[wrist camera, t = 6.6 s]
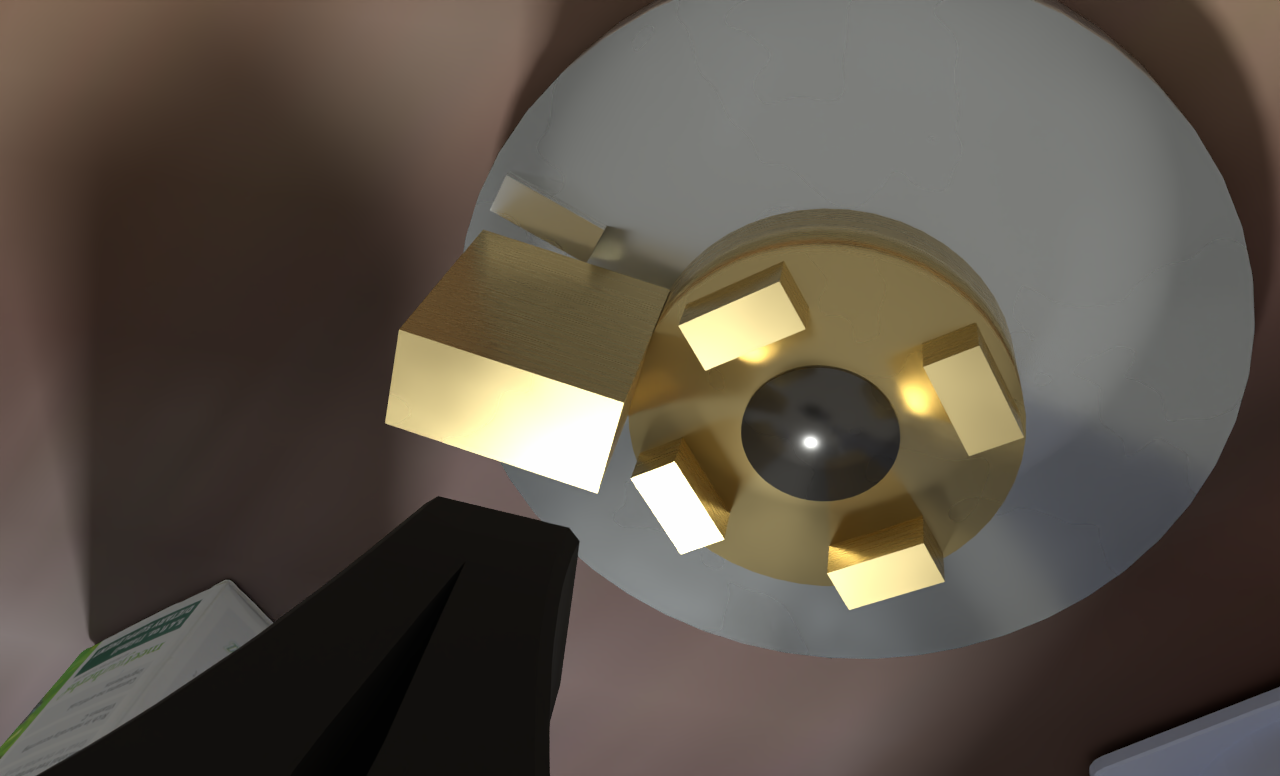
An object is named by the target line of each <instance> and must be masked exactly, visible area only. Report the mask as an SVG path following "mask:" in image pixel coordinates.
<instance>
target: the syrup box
mask: <svg viewBox="0 0 1280 776" xmlns="http://www.w3.org/2000/svg"><path fill="white" fill-rule="evenodd" d="M271 624H273V622H272V621H271V620H270V619H269V618H268V617H267V616H266V615H265V614H264V613H263V612H262V611H261V610H260V609H259V608H258V607H257V605H256V604H255V603H254V602H252V601H251V600H250V599H249V598H248V597H247V596H246V595H245V594H244V593H243V592H242V591H241V590H240V589H239V588H238V587H237V586H236V584H235V583H234V582H232V581H231V580H224V581H222V582H220V583H218V584H216V585H214V586H213V587H212V588H210V589H208V590H206V591H203V592H201V593H199V594H197V595H194V596H192V597H190V598H188V599H186V600H184V601H182V602H180V603H177V604H174V605H172V606H170V607H168V608H166V609H164V610H162V611H160V612H158V613H156V614H154V615H152V616H150V617H148V618H146V619H144V620H142V621H140V622H138V623H136V624H134V625H132V626H130V627H128V628H126V629H125V630H123V631H121V632H119V633H117V634H115V635H113V636H111V637H109V638H107V639H105V640H103V641H102V642H100V643H98V644H96V645H94V646H93V647H90V648H88V649H86V650H84V651H83V652H82V653H81V654H80V655H79V656H78V657H77V658H76V660H75V661H74V662H73V663H72V664H71V666H70V667H69V668H68V669H67V670H66V672H65V673H64V674H63V675H62V676H61V677H60V679H59V680H58V681H57V682H56V683H55V684H54V686H53V687H52V688H51V689H50V690H49V691H48V692H47V694H46V695H45V696H44V697H43V698H42V699H41V701H40V702H39V703H38V704H37V705H36V707H35V708H34V709H33V710H32V711H31V713H30V714H29V715H28V716H27V717H26V718H25V719H24V721H23V722H22V723H21V724H20V725H19V726H18V728H17V729H16V730H15V731H14V732H13V733H12V734H11V736H10V737H9V738H8V739H7V740H6V742H5V743H4V744H3V745H2V746H1V747H0V776H36V775H38V774H40V773H41V772H43V771H45V770H47V769H48V768H50V767H52V766H54V765H55V764H57V763H59V762H61V761H62V760H64V759H66V758H68V757H69V756H71V755H73V754H75V753H76V752H78V751H80V750H82V749H83V748H85V747H87V746H88V745H90V744H92V743H93V742H95V741H97V740H98V739H100V738H102V737H103V736H105V735H107V734H108V733H110V732H112V731H113V730H115V729H116V728H118V727H120V726H121V725H123V724H124V723H126V722H128V721H129V720H131V719H132V718H134V717H136V716H137V715H139V714H141V713H142V712H144V711H145V710H147V709H148V708H150V707H152V706H153V705H155V704H156V703H158V702H159V701H161V700H162V699H164V698H165V697H167V696H168V695H170V694H171V693H173V692H174V691H176V690H177V689H179V688H180V687H182V686H183V685H185V684H186V683H188V682H189V681H191V680H192V679H194V678H195V677H197V676H198V675H200V674H201V673H203V672H204V671H205V670H207V669H208V668H210V667H211V666H213V665H214V664H216V663H217V662H219V661H220V660H222V659H223V658H225V657H226V656H228V655H229V654H231V653H232V652H234V651H235V650H237V649H238V648H240V647H241V646H242V645H244V644H245V643H247V642H248V641H249V640H251V639H252V638H254V637H255V636H256V635H258V634H259V633H261V632H262V631H263V630H265V629H266V628H267V627H269V626H270V625H271Z"/></svg>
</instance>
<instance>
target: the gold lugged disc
mask: <svg viewBox="0 0 1280 776" xmlns="http://www.w3.org/2000/svg"><path fill="white" fill-rule="evenodd" d="M628 416H629V431H630V437H631V442H632V447H633V451H634V454H635V457H636V460H637V462H636V465H635V468H634V471H633V473H632V476H631V480H632V481H633V483H634V484H635V486H636V487H637V489H638V490H639V492H640V493H641V495H642V496H643V498H644V499H645V501H646V502H647V504H648V505H649V507H650V508H651V510H652V511H653V513H654V514H655V516H656V517H657V519H658V520H659V522H660V524H661V525H662V527H663V528H664V530H665V531H666V533H667V534H668V536H669V537H670V539H671V540H672V542H673V543H674V545H675V546H676V548H677V549H678V551H679V552H680V554H683V553H686V552H689V551H692V550H695V549H698V548H701V547H704V546H705V547H706V548H708V549H709V550H710V551H712V552H714V553H715V554H717V555H719V556H721V557H723V558H724V559H726V560H728V561H730V562H731V563H734V564H736V565H738V566H741V567H743V568H745V569H748V570H750V571H752V572H755V573H758V574H762V575H765V576H768V577H771V578H774V579H779V580H784V581H788V582H793V583H798V584H807V585H817V586H835V587H836V589H837V591H838V592H839V594H840V596H841V597H842V599H843V601H844V602H845V604H846V606H847V607H848V609H849V610H851V609H854V608H858V607H861V606H865V605H868V604H871V603H875V602H878V601H882V600H885V599H888V598H892V597H895V596H898V595H902V594H905V593H909V592H912V591H915V590H919V589H922V588H926V587H929V586H932V585H936V584H939V583H942V582H945V576H944V560H943V558H945V557H947V556H948V555H950V554H952V553H953V552H955V551H957V550H958V549H959V548H961V547H962V546H963V545H964V544H966V543H967V542H968V541H969V540H971V539H972V538H973V537H974V536H976V535H977V534H978V533H979V532H980V530H981V529H982V528H983V527H984V526H985V525H986V524H987V523H988V522H989V521H990V520H991V519H992V518H993V516H994V515H995V514H996V512H997V511H998V509H999V508H1000V507H1001V505H1002V504H1003V503H1004V501H1005V499H1006V497H1007V495H1008V494H1009V492H1010V490H1011V488H1012V486H1013V484H1014V482H1015V479H1016V477H1017V474H1018V471H1019V468H1020V465H1021V462H1022V457H1023V452H1024V446H1025V440H1026V413H1025V406H1024V400H1023V393H1022V388H1021V383H1020V378H1019V373H1018V368H1017V363H1016V358H1015V353H1014V348H1013V343H1012V338H1011V335H1010V332H1009V329H1008V326H1007V323H1006V320H1005V317H1004V315H1003V313H1002V311H1001V309H1000V307H999V305H998V303H997V301H996V299H995V297H994V295H993V294H992V293H991V291H990V290H989V288H988V287H987V285H986V284H985V283H984V281H983V280H982V278H981V277H980V276H979V275H978V274H977V273H976V272H975V271H974V270H973V269H972V268H971V266H970V265H969V264H968V263H967V262H966V261H965V260H964V259H963V258H961V257H960V256H959V255H958V254H956V253H955V252H954V251H953V250H951V249H950V248H949V247H948V246H946V245H945V244H943V243H942V242H940V241H938V240H937V239H935V238H933V237H932V236H930V235H928V234H927V233H925V232H923V231H921V230H919V229H917V228H914V227H912V226H910V225H908V224H905V223H903V222H901V221H898V220H894V219H891V218H888V217H884V216H881V215H877V214H873V213H867V212H861V211H855V210H849V209H824V208H822V209H810V210H798V211H793V212H788V213H783V214H778V215H774V216H770V217H767V218H764V219H761V220H759V221H756V222H753V223H750V224H747V225H745V226H743V227H741V228H739V229H737V230H735V231H733V232H731V233H729V234H727V235H726V236H724V237H723V238H721V239H720V240H718V241H717V242H715V243H714V244H712V245H711V246H709V247H708V248H707V249H705V250H704V251H703V252H702V253H701V254H700V255H699V256H698V257H696V258H695V259H694V260H693V261H692V262H691V263H690V264H689V265H688V266H687V267H686V269H685V270H684V271H683V272H682V273H681V275H680V276H679V277H678V278H677V279H676V281H675V282H674V284H673V285H672V287H671V289H667V288H664V287H661V286H658V285H655V284H651V283H648V282H645V281H642V280H639V279H636V278H633V277H630V276H627V275H623V274H620V273H617V272H614V271H611V270H608V269H605V268H602V267H599V266H596V265H592V264H589V263H586V262H583V261H580V260H577V259H574V258H571V257H568V256H564V255H561V254H558V253H555V252H552V251H549V250H546V249H543V248H540V247H536V246H533V245H530V244H527V243H524V242H521V241H518V240H515V239H512V238H508V237H505V236H502V235H499V234H496V233H493V232H490V231H487V230H484V229H483V230H482V231H481V233H480V234H479V235H478V236H477V237H476V239H475V240H474V241H473V242H472V243H471V245H470V246H469V247H468V248H467V249H466V251H465V252H464V253H463V254H462V255H461V256H460V258H459V259H458V260H457V261H456V262H455V264H454V265H453V266H452V267H451V268H450V270H449V271H448V272H447V273H446V274H445V275H444V277H443V278H442V279H441V280H440V281H439V283H438V284H437V285H436V286H435V287H434V289H433V290H432V291H431V292H430V293H429V295H428V296H427V297H426V298H425V299H424V300H423V302H422V303H421V304H420V305H419V306H418V308H417V309H416V310H415V311H414V312H413V314H412V315H411V316H410V317H409V318H408V320H407V321H406V322H405V323H404V324H403V325H402V327H401V328H400V329H399V334H398V340H397V347H396V354H395V360H394V367H393V374H392V380H391V387H390V394H389V400H388V407H387V414H386V420H385V423H386V424H389V425H392V426H395V427H398V428H401V429H404V430H407V431H410V432H413V433H416V434H419V435H422V436H425V437H428V438H431V439H434V440H437V441H440V442H443V443H446V444H449V445H452V446H455V447H458V448H461V449H464V450H467V451H470V452H473V453H477V454H480V455H483V456H486V457H489V458H492V459H495V460H498V461H501V462H504V463H507V464H510V465H513V466H516V467H519V468H522V469H525V470H528V471H531V472H534V473H537V474H540V475H543V476H546V477H549V478H552V479H555V480H558V481H561V482H564V483H567V484H571V485H574V486H577V487H580V488H583V489H586V490H589V491H592V492H595V493H598V491H599V488H600V486H601V483H602V480H603V478H604V475H605V473H606V470H607V468H608V465H609V463H610V460H611V458H612V455H613V452H614V450H615V447H616V445H617V442H618V440H619V437H620V435H621V432H622V430H623V427H624V424H625V422H626V419H627V417H628Z"/></svg>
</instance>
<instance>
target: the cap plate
mask: <svg viewBox="0 0 1280 776" xmlns="http://www.w3.org/2000/svg"><path fill="white" fill-rule="evenodd" d="M822 208H824V209H849V210H855V211H861V212H867V213H873V214H877V215H881V216H884V217H888V218H891V219H894V220H898V221H901V222H903V223H905V224H908V225H910V226H912V227H914V228H917V229H919V230H921V231H923V232H925V233H927V234H928V235H930V236H932V237H933V238H935V239H937V240H938V241H940V242H942V243H943V244H945V245H946V246H948V247H949V248H950V249H951V250H953V251H954V252H955V253H956V254H958V255H959V256H960V257H961V258H963V259H964V260H965V261H966V262H967V263H968V264H969V265H970V266H971V268H972V269H973V270H974V271H975V272H976V273H977V274H978V275H979V276H980V277H981V278H982V280H983V281H984V283H985V284H986V285H987V287H988V288H989V290H990V291H991V293H992V294H993V295H994V297H995V299H996V301H997V303H998V305H999V307H1000V309H1001V311H1002V313H1003V315H1004V317H1005V320H1006V323H1007V326H1008V329H1009V332H1010V335H1011V338H1012V343H1013V348H1014V353H1015V358H1016V363H1017V368H1018V373H1019V378H1020V383H1021V388H1022V393H1023V400H1024V406H1025V413H1026V440H1025V446H1024V452H1023V457H1022V462H1021V465H1020V468H1019V471H1018V474H1017V477H1016V479H1015V482H1014V484H1013V486H1012V488H1011V490H1010V492H1009V494H1008V495H1007V497H1006V499H1005V501H1004V503H1003V504H1002V505H1001V507H1000V508H999V509H998V511H997V512H996V514H995V515H994V516H993V518H992V519H991V520H990V521H989V522H988V523H987V524H986V525H985V526H984V527H983V528H982V529H981V530H980V532H979V533H978V534H977V535H976V536H974V537H973V538H972V539H971V540H969V541H968V542H967V543H966V544H964V545H963V546H962V547H961V548H959V549H958V550H957V551H955V552H953V553H952V554H950V555H948V556H947V557H945V558H943V560H944V576H945V582H942V583H939V584H936V585H932V586H929V587H926V588H922V589H919V590H915V591H912V592H909V593H905V594H902V595H898V596H895V597H892V598H888V599H885V600H882V601H878V602H875V603H871V604H868V605H865V606H861V607H858V608H854V609H851V610H849V609H848V607H847V606H846V604H845V602H844V601H843V599H842V597H841V596H840V594H839V592H838V591H837V589H836V587H835V586H817V585H807V584H798V583H793V582H788V581H784V580H779V579H774V578H771V577H768V576H765V575H762V574H758V573H755V572H752V571H750V570H748V569H745V568H743V567H741V566H738V565H736V564H734V563H731V562H730V561H728V560H726V559H724V558H723V557H721V556H719V555H717V554H715V553H714V552H712V551H710V550H709V549H708V548H706V547H705V546H704V547H701V548H698V549H695V550H692V551H689V552H686V553H683V554H680V552H679V551H678V549H677V548H676V546H675V545H674V543H673V542H672V540H671V539H670V537H669V536H668V534H667V533H666V531H665V530H664V528H663V527H662V525H661V524H660V522H659V520H658V519H657V517H656V516H655V514H654V513H653V511H652V510H651V508H650V507H649V505H648V504H647V502H646V501H645V499H644V498H643V496H642V495H641V493H640V492H639V490H638V489H637V487H636V486H635V484H634V483H633V481H632V480H631V476H632V473H633V471H634V468H635V465H636V462H637V460H636V457H635V454H634V451H633V447H632V442H631V437H630V431H629V416H628V417H627V419H626V422H625V424H624V427H623V430H622V432H621V435H620V437H619V440H618V442H617V445H616V447H615V450H614V452H613V455H612V458H611V460H610V463H609V465H608V468H607V470H606V473H605V475H604V478H603V480H602V483H601V486H600V488H599V491H598V493H595V492H592V491H589V490H586V489H583V488H580V487H577V486H574V485H571V484H567V483H564V482H561V481H558V480H555V479H552V478H549V477H546V476H543V475H540V474H537V473H534V472H531V471H528V470H525V469H522V468H519V467H516V466H513V465H510V464H507V463H504V462H501V461H500V463H501V464H502V466H503V468H504V470H505V471H506V473H507V475H508V477H509V478H510V480H511V482H512V483H513V484H514V486H515V487H516V488H517V490H518V491H519V492H520V494H521V495H522V496H523V498H524V499H525V501H526V502H527V503H528V505H529V506H530V507H531V509H532V510H533V511H534V513H535V514H536V515H537V516H538V517H539V518H540V519H541V520H542V521H544V522H548V523H552V524H556V525H560V526H565V527H569V528H570V529H571V530H572V532H573V533H574V534H575V536H576V537H577V538H578V540H579V541H580V543H579V550H578V557H579V558H581V559H582V560H583V561H584V562H585V563H586V564H587V565H589V566H590V567H591V568H592V569H593V570H595V571H596V572H597V573H599V574H600V575H602V576H603V577H605V578H606V579H607V580H609V581H610V582H612V583H613V584H615V585H616V586H618V587H619V588H620V589H622V590H623V591H625V592H626V593H628V594H629V595H631V596H633V597H635V598H637V599H638V600H640V601H642V602H644V603H646V604H647V605H649V606H651V607H653V608H655V609H656V610H658V611H660V612H662V613H664V614H666V615H668V616H670V617H673V618H675V619H677V620H680V621H682V622H684V623H687V624H689V625H691V626H694V627H696V628H698V629H701V630H703V631H706V632H709V633H712V634H715V635H719V636H722V637H725V638H728V639H731V640H734V641H737V642H741V643H744V644H748V645H753V646H757V647H762V648H767V649H771V650H776V651H780V652H785V653H793V654H801V655H810V656H818V657H827V658H862V659H877V658H890V657H903V656H916V655H923V654H928V653H934V652H939V651H945V650H951V649H956V648H962V647H965V646H969V645H972V644H976V643H980V642H983V641H987V640H990V639H994V638H997V637H1001V636H1004V635H1007V634H1009V633H1012V632H1014V631H1017V630H1019V629H1022V628H1024V627H1027V626H1029V625H1032V624H1034V623H1037V622H1039V621H1042V620H1044V619H1047V618H1049V617H1051V616H1052V615H1054V614H1056V613H1058V612H1060V611H1062V610H1064V609H1065V608H1067V607H1069V606H1071V605H1073V604H1075V603H1077V602H1079V601H1080V600H1082V599H1084V598H1086V597H1088V596H1089V595H1091V594H1092V593H1093V592H1095V591H1096V590H1098V589H1099V588H1101V587H1102V586H1104V585H1105V584H1106V583H1108V582H1109V581H1111V580H1112V579H1114V578H1115V577H1117V576H1118V575H1119V574H1121V573H1122V572H1124V571H1125V570H1126V569H1127V568H1128V567H1130V566H1131V565H1132V564H1133V563H1134V562H1135V561H1136V560H1137V559H1139V558H1140V557H1141V556H1142V555H1143V554H1144V553H1145V552H1146V551H1148V550H1149V549H1150V548H1151V547H1152V546H1153V545H1154V544H1155V543H1156V542H1158V541H1159V540H1160V539H1161V537H1162V536H1163V535H1164V534H1165V533H1166V532H1167V531H1168V529H1169V528H1170V527H1171V526H1172V525H1173V524H1174V522H1175V521H1176V520H1177V519H1178V518H1179V517H1180V516H1181V514H1182V513H1183V512H1184V511H1185V510H1186V509H1187V507H1188V506H1189V505H1190V504H1191V502H1192V501H1193V499H1194V498H1195V496H1196V495H1197V493H1198V491H1199V490H1200V488H1201V487H1202V485H1203V484H1204V482H1205V481H1206V479H1207V478H1208V476H1209V475H1210V473H1211V471H1212V470H1213V468H1214V467H1215V465H1216V463H1217V461H1218V459H1219V457H1220V455H1221V452H1222V450H1223V448H1224V446H1225V444H1226V442H1227V439H1228V437H1229V435H1230V433H1231V431H1232V429H1233V426H1234V424H1235V422H1236V418H1237V415H1238V412H1239V408H1240V405H1241V401H1242V398H1243V394H1244V391H1245V387H1246V384H1247V380H1248V377H1249V370H1250V362H1251V354H1252V346H1253V337H1254V329H1255V321H1254V296H1253V276H1252V271H1251V267H1250V262H1249V257H1248V252H1247V247H1246V243H1245V238H1244V233H1243V228H1242V225H1241V222H1240V220H1239V217H1238V215H1237V212H1236V210H1235V207H1234V204H1233V202H1232V199H1231V197H1230V194H1229V192H1228V189H1227V187H1226V184H1225V181H1224V179H1223V176H1222V175H1221V173H1220V171H1219V170H1218V168H1217V166H1216V165H1215V163H1214V161H1213V160H1212V158H1211V156H1210V155H1209V153H1208V151H1207V150H1206V148H1205V146H1204V145H1203V143H1202V141H1201V139H1200V138H1199V136H1198V134H1197V133H1196V131H1195V129H1194V128H1193V127H1192V126H1191V124H1190V123H1189V122H1188V120H1187V119H1186V118H1185V117H1184V115H1183V114H1182V113H1181V112H1180V110H1179V109H1178V108H1177V106H1176V105H1175V104H1174V103H1173V102H1172V100H1171V99H1170V98H1169V97H1168V96H1167V94H1166V93H1165V92H1164V91H1163V90H1162V88H1161V87H1160V86H1159V85H1158V84H1157V82H1156V81H1155V80H1154V79H1153V78H1152V76H1151V75H1150V74H1149V73H1148V72H1147V70H1146V69H1145V68H1144V67H1143V66H1142V64H1140V63H1139V62H1138V61H1137V60H1136V59H1135V58H1134V57H1132V56H1131V55H1130V54H1129V53H1128V52H1127V51H1126V50H1124V49H1123V48H1122V47H1121V46H1120V45H1119V44H1118V43H1116V42H1115V41H1114V40H1113V39H1112V38H1111V37H1110V36H1108V35H1107V34H1106V33H1105V32H1104V31H1103V30H1102V29H1100V28H1099V27H1098V26H1096V25H1094V24H1093V23H1091V22H1090V21H1088V20H1087V19H1085V18H1083V17H1082V16H1080V15H1079V14H1077V13H1076V12H1074V11H1073V10H1071V9H1069V8H1068V7H1066V6H1065V5H1063V4H1062V3H1060V2H1058V1H1057V0H655V1H653V2H652V3H650V4H648V5H647V6H645V7H643V8H642V9H640V10H639V11H637V12H635V13H634V14H632V15H630V16H629V17H627V18H625V19H624V20H622V21H621V22H619V23H618V24H617V25H615V26H614V27H613V28H612V29H611V30H609V31H608V32H607V33H606V34H605V35H603V36H602V37H601V38H600V39H598V40H597V41H596V42H595V43H594V44H592V45H591V46H590V47H589V48H588V49H586V50H585V51H584V52H583V53H581V54H580V55H579V56H578V57H577V58H576V59H575V60H574V61H573V62H572V63H571V64H570V65H569V66H568V67H567V68H566V69H565V70H564V71H563V72H562V73H561V74H560V76H559V77H558V78H557V79H556V80H555V81H554V82H553V83H552V84H551V85H550V86H549V88H548V89H547V90H546V91H545V92H544V93H543V94H542V95H541V96H540V97H539V99H538V100H537V101H536V102H535V103H534V104H533V105H532V106H531V107H530V108H529V109H528V111H527V112H526V113H525V115H524V116H523V118H522V119H521V121H520V122H519V124H518V125H517V127H516V128H515V130H514V131H513V133H512V134H511V136H510V137H509V139H508V140H507V142H506V143H505V144H504V146H503V147H502V149H501V150H500V152H499V154H498V156H497V158H496V160H495V162H494V164H493V167H492V169H491V171H490V173H489V175H488V177H487V179H486V181H485V183H484V185H483V187H482V189H481V192H480V194H479V197H478V200H477V203H476V206H475V209H474V213H473V216H472V219H471V222H470V225H469V229H468V232H467V235H466V239H465V246H464V252H465V251H466V249H467V248H468V247H469V246H470V245H471V243H472V242H473V241H474V240H475V239H476V237H477V236H478V235H479V234H480V233H481V231H482V230H483V229H484V230H487V231H490V232H493V233H496V234H499V235H502V236H505V237H508V238H512V239H515V240H518V241H521V242H524V243H527V244H530V245H533V246H536V247H540V248H543V249H546V250H549V251H552V252H555V253H558V254H561V255H564V256H568V257H571V258H574V259H577V260H580V261H583V262H586V263H589V264H592V265H596V266H599V267H602V268H605V269H608V270H611V271H614V272H617V273H620V274H623V275H627V276H630V277H633V278H636V279H639V280H642V281H645V282H648V283H651V284H655V285H658V286H661V287H664V288H667V289H671V287H672V285H673V284H674V282H675V281H676V279H677V278H678V277H679V276H680V275H681V273H682V272H683V271H684V270H685V269H686V267H687V266H688V265H689V264H690V263H691V262H692V261H693V260H694V259H695V258H696V257H698V256H699V255H700V254H701V253H702V252H703V251H704V250H705V249H707V248H708V247H709V246H711V245H712V244H714V243H715V242H717V241H718V240H720V239H721V238H723V237H724V236H726V235H727V234H729V233H731V232H733V231H735V230H737V229H739V228H741V227H743V226H745V225H747V224H750V223H753V222H756V221H759V220H761V219H764V218H767V217H770V216H774V215H778V214H783V213H788V212H793V211H798V210H810V209H822ZM464 252H463V253H464Z"/></svg>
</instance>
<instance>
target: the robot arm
mask: <svg viewBox="0 0 1280 776" xmlns="http://www.w3.org/2000/svg"><path fill="white" fill-rule="evenodd" d="M579 543H580V541H579V540H578V538H577V537H576V536H575V534H574V533H573V532H572V530H571V529H570V528H569V527H565V526H560V525H556V524H552V523H548V522H544V521H540V520H535V519H531V518H527V517H523V516H519V515H514V514H510V513H506V512H502V511H498V510H494V509H489V508H485V507H481V506H477V505H473V504H468V503H464V502H460V501H456V500H452V499H448V498H443V497H439V496H438V497H436V498H434V499H433V500H431V501H429V502H427V503H426V504H424V505H423V506H422V507H421V508H420V509H418V510H417V511H416V512H415V513H413V514H412V515H411V516H410V517H409V518H407V519H406V520H405V521H404V522H402V523H401V524H400V525H399V526H398V527H396V528H395V529H394V530H393V531H392V532H390V533H389V534H388V535H387V536H385V537H384V538H383V539H382V540H381V541H379V542H378V543H377V544H376V545H374V546H373V547H372V548H371V549H369V550H368V551H367V552H366V553H364V554H363V555H362V556H361V557H359V558H358V559H357V560H356V561H354V562H353V563H352V564H351V565H349V566H348V567H347V568H345V569H344V570H343V571H342V572H340V573H339V574H338V575H337V576H335V577H334V578H333V579H331V580H330V581H329V582H328V583H326V584H325V585H324V586H322V587H321V588H320V589H318V590H317V591H316V592H314V593H313V594H312V595H310V596H309V597H308V598H306V599H305V600H304V601H302V602H301V603H300V604H298V605H297V606H296V607H294V608H293V609H292V610H290V611H289V612H287V613H286V614H285V615H283V616H282V617H281V618H279V619H278V620H277V621H275V622H274V623H273V624H271V625H270V626H269V627H267V628H266V629H265V630H263V631H262V632H261V633H259V634H258V635H256V636H255V637H254V638H252V639H251V640H249V641H248V642H247V643H245V644H244V645H242V646H241V647H240V648H238V649H237V650H235V651H234V652H232V653H231V654H229V655H228V656H226V657H225V658H223V659H222V660H220V661H219V662H217V663H216V664H214V665H213V666H211V667H210V668H208V669H207V670H205V671H204V672H203V673H201V674H200V675H198V676H197V677H195V678H194V679H192V680H191V681H189V682H188V683H186V684H185V685H183V686H182V687H180V688H179V689H177V690H176V691H174V692H173V693H171V694H170V695H168V696H167V697H165V698H164V699H162V700H161V701H159V702H158V703H156V704H155V705H153V706H152V707H150V708H148V709H147V710H145V711H144V712H142V713H141V714H139V715H137V716H136V717H134V718H132V719H131V720H129V721H128V722H126V723H124V724H123V725H121V726H120V727H118V728H116V729H115V730H113V731H112V732H110V733H108V734H107V735H105V736H103V737H102V738H100V739H98V740H97V741H95V742H93V743H92V744H90V745H88V746H87V747H85V748H83V749H82V750H80V751H78V752H76V753H75V754H73V755H71V756H69V757H68V758H66V759H64V760H62V761H61V762H59V763H57V764H55V765H54V766H52V767H50V768H48V769H47V770H45V771H43V772H41V773H40V774H38V775H36V776H550V762H549V727H550V719H551V716H552V712H553V708H554V705H555V701H556V697H557V694H558V690H559V686H560V681H561V674H562V667H563V659H564V652H565V645H566V638H567V630H568V623H569V616H570V608H571V601H572V594H573V587H574V579H575V572H576V565H577V557H578V550H579ZM1089 775H1090V776H1280V687H1278V688H1275V689H1273V690H1270V691H1268V692H1265V693H1262V694H1260V695H1257V696H1255V697H1252V698H1250V699H1247V700H1244V701H1242V702H1239V703H1237V704H1234V705H1232V706H1229V707H1227V708H1224V709H1221V710H1219V711H1216V712H1214V713H1211V714H1209V715H1206V716H1203V717H1201V718H1198V719H1196V720H1193V721H1191V722H1188V723H1185V724H1183V725H1180V726H1178V727H1175V728H1173V729H1170V730H1167V731H1165V732H1162V733H1160V734H1157V735H1155V736H1152V737H1149V738H1147V739H1144V740H1142V741H1139V742H1137V743H1134V744H1131V745H1129V746H1126V747H1124V748H1121V749H1119V750H1116V751H1114V752H1111V753H1108V754H1106V755H1103V756H1101V757H1099V758H1097V759H1096V760H1094V761H1093V762H1092V764H1091V765H1090V767H1089Z"/></svg>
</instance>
